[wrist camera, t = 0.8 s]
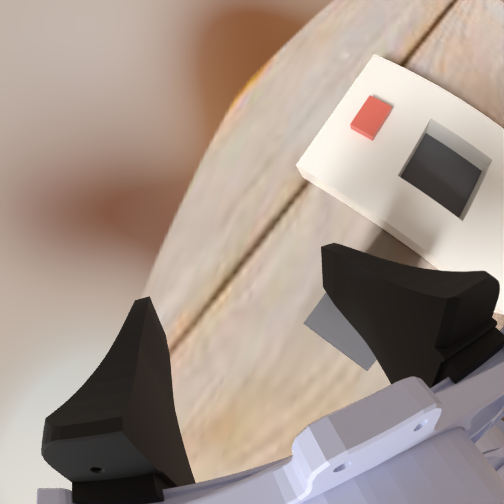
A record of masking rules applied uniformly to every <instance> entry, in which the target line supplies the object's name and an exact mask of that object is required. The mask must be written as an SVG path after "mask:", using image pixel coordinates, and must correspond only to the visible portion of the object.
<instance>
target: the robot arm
mask: <svg viewBox="0 0 504 504" xmlns="http://www.w3.org/2000/svg"><path fill="white" fill-rule="evenodd" d="M321 254H322V274H323V287H324V289H325V291H326V292H327V294H328V296H329V297H330V299H331V300H332V302H333V304H334V305H335V306H336V307H337V309H338V310H339V311H340V312H341V313H342V315H343V316H344V317H345V318H346V319H347V320H348V322H349V323H350V324H351V325H352V326H353V327H354V329H355V330H356V331H357V332H358V333H359V335H360V336H361V337H362V338H363V339H364V341H365V342H366V343H367V345H368V346H369V348H370V349H371V351H372V352H373V354H374V356H375V357H376V359H377V360H378V362H379V364H380V365H381V367H382V369H383V370H384V372H385V374H386V376H387V377H388V379H389V381H390V383H391V385H390V386H388V387H386V388H384V389H382V390H380V391H378V392H376V393H374V394H372V395H370V396H368V397H365V398H363V399H361V400H359V401H357V402H355V403H353V404H350V405H348V406H346V407H344V408H342V409H339V410H337V411H335V412H332V413H330V414H328V415H325V416H323V417H322V418H320V419H318V420H316V421H314V422H312V423H311V424H309V425H308V426H307V427H306V428H304V429H303V430H302V431H301V432H300V433H299V434H298V435H297V436H296V438H295V441H294V443H293V446H292V454H293V455H292V456H289V457H286V458H283V459H281V460H278V461H275V462H272V463H269V464H266V465H262V466H259V467H256V468H253V469H249V470H246V471H243V472H239V473H236V474H232V475H228V476H224V477H220V478H216V479H212V480H208V481H204V482H199V483H195V480H194V477H193V474H192V471H191V468H190V465H189V461H188V458H187V455H186V451H185V448H184V444H183V441H182V437H181V433H180V429H179V425H178V421H177V416H176V412H175V406H174V399H173V388H172V377H171V365H170V355H169V349H168V344H167V340H166V335H165V332H164V330H163V328H162V325H161V323H160V321H159V318H158V316H157V313H156V311H155V309H154V306H153V304H152V301H151V299H150V296H149V297H146V298H142V299H139V300H135V302H134V304H133V306H132V308H131V310H130V312H129V314H128V316H127V318H126V320H125V322H124V324H123V326H122V328H121V330H120V332H119V334H118V336H117V338H116V340H115V341H114V343H113V345H112V347H111V348H110V350H109V352H108V353H107V355H106V356H105V358H104V359H103V361H102V362H101V363H100V365H99V366H98V368H97V369H96V370H95V371H94V373H93V374H92V375H91V376H90V378H89V379H88V380H87V381H86V382H85V383H84V385H83V386H82V387H81V388H80V389H79V390H78V391H77V392H76V393H75V394H74V395H73V396H72V397H71V398H70V399H69V400H68V401H66V402H65V403H64V404H63V405H62V406H61V407H60V408H58V409H57V410H56V411H54V413H52V414H51V415H49V416H48V417H47V418H46V419H45V426H44V431H43V440H42V448H41V451H42V452H41V453H42V456H43V458H44V460H45V461H46V462H47V463H48V464H49V465H50V466H51V467H52V468H54V469H55V470H56V471H58V472H59V473H60V474H61V475H63V476H64V477H65V478H67V479H68V480H70V481H71V482H72V491H71V490H68V489H62V488H39V489H37V504H504V421H503V420H502V418H503V417H504V326H503V328H502V329H501V330H500V331H499V330H498V329H497V328H496V327H495V326H496V325H497V321H496V320H494V319H493V318H492V316H493V313H494V310H495V307H496V304H497V301H498V297H499V293H500V284H499V281H498V280H497V279H496V278H495V277H493V276H492V275H490V274H489V273H487V272H486V271H440V270H431V269H423V268H417V267H412V266H408V265H403V264H399V263H395V262H392V261H388V260H385V259H382V258H378V257H375V256H372V255H369V254H367V253H364V252H361V251H358V250H355V249H352V248H349V247H346V246H343V245H340V244H336V243H332V244H329V245H325V246H322V247H321Z"/></svg>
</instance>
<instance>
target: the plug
mask: <svg viewBox="0 0 504 504" xmlns="http://www.w3.org/2000/svg"><path fill="white" fill-rule="evenodd" d="M304 324H305V325H306V326H307V327H309V328H310V329H311V330H313V331H314V332H315V333H317V334H318V335H319V336H321V337H322V338H323V339H325V340H326V341H327V342H329V343H330V344H331V345H333V346H334V347H335V348H337V349H338V350H339V351H341V352H342V353H343V354H345V355H346V356H347V357H349V358H350V359H351V360H353V361H354V362H356V363H357V364H358V365H360V366H361V367H362V368H364V369H365V370H366V371H368V370H369V368H370V367H371V366H372V365H373V363H374V362H375V361H376V360H377V359H376V357H375V356H374V354H373V352H372V351H371V349H370V348H369V346H368V345H367V343H366V342H365V341H364V339H363V338H362V337H361V336H360V335H359V333H358V332H357V331H356V330H355V329H354V327H353V326H352V325H351V324H350V323H349V322H348V320H347V319H346V318H345V317H344V316H343V315H342V313H341V312H340V311H339V310H338V309H337V307H336V306H335V305H334V304H333V302H332V300H331V299H330V297H329V296H328V294H327V292H326V293H325V295H324V296H323V297H322V299H321V300H320V302H319V303H318V304H317V306H316V307H315V308H314V310H313V311H312V313H311V314H310V315H309V317H308V318H307V319H306V321H305V322H304Z"/></svg>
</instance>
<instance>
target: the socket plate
mask: <svg viewBox="0 0 504 504" xmlns="http://www.w3.org/2000/svg"><path fill="white" fill-rule="evenodd" d="M296 166H297V168H298V169H299V171H300V173H301V175H302V176H303V178H305V179H307V180H308V181H310V182H311V183H313V184H315V185H316V186H318V187H320V188H321V189H323V190H324V191H326V192H328V193H329V194H331V195H332V196H334V197H335V198H337V199H339V200H340V201H342V202H343V203H345V204H346V205H348V206H349V207H351V208H353V209H354V210H356V211H357V212H359V213H360V214H362V215H363V216H365V217H366V218H368V219H369V220H371V221H372V222H373V223H375V224H376V225H378V226H379V227H381V228H382V229H384V230H385V231H387V232H388V233H389V234H391V235H392V236H394V237H395V238H397V239H398V240H399V241H401V242H402V243H404V244H405V245H406V246H408V247H409V248H411V249H412V250H413V251H415V252H416V253H417V254H419V255H420V256H422V257H423V258H424V259H426V260H427V261H428V262H430V263H431V264H432V265H434V266H435V267H436V268H438V269H439V270H440V271H486V272H487V273H489V274H490V275H492V276H493V277H495V278H496V279H497V280H498V281H499V284H500V293H499V297H498V301H497V304H496V307H495V310H494V313H499V314H504V129H503V128H502V127H501V126H499V125H498V124H497V123H495V122H494V121H492V120H491V119H490V118H488V117H487V116H485V115H484V114H482V113H481V112H479V111H478V110H476V109H475V108H473V107H472V106H470V105H469V104H467V103H466V102H464V101H463V100H461V99H459V98H458V97H456V96H454V95H453V94H451V93H449V92H448V91H446V90H444V89H443V88H441V87H439V86H437V85H436V84H434V83H432V82H430V81H428V80H427V79H425V78H423V77H421V76H419V75H417V74H415V73H413V72H411V71H409V70H407V69H405V68H403V67H401V66H399V65H397V64H395V63H393V62H391V61H389V60H387V59H384V58H382V57H380V56H378V55H375V54H374V55H373V57H372V58H371V59H370V61H369V62H368V64H367V65H366V66H365V68H364V69H363V71H362V72H361V73H360V75H359V76H358V78H357V79H356V80H355V82H354V83H353V85H352V86H351V87H350V89H349V90H348V92H347V93H346V95H345V96H344V97H343V99H342V100H341V102H340V103H339V104H338V106H337V107H336V109H335V110H334V112H333V113H332V114H331V116H330V117H329V119H328V120H327V122H326V123H325V124H324V126H323V127H322V129H321V130H320V131H319V133H318V134H317V136H316V137H315V139H314V140H313V141H312V143H311V144H310V146H309V147H308V149H307V150H306V152H305V153H304V154H303V156H302V157H301V159H300V160H299V162H298V163H297V164H296Z"/></svg>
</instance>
